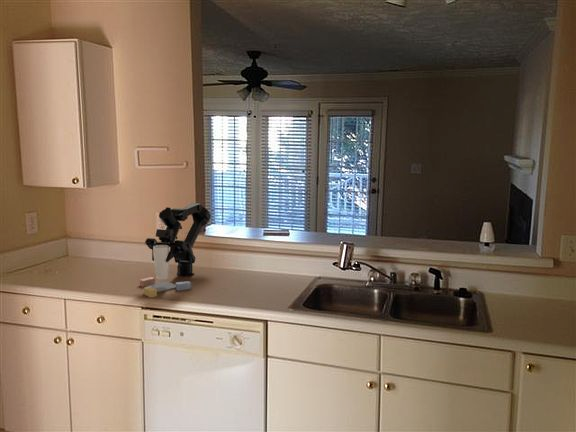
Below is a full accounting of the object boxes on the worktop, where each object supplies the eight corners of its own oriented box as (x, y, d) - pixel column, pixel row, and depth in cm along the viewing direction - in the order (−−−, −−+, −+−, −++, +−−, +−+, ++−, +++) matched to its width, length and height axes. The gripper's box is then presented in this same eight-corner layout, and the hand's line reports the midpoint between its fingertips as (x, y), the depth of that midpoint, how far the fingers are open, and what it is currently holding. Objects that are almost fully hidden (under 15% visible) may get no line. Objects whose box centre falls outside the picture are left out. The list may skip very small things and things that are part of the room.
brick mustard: (143, 294, 206) (143, 287, 206) (150, 293, 208) (149, 286, 208) (150, 297, 202) (150, 291, 201) (157, 296, 204) (156, 289, 203)
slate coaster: (166, 282, 223) (166, 281, 223) (179, 287, 215) (179, 286, 215) (144, 287, 215) (144, 285, 215) (157, 292, 208) (157, 291, 208)
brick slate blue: (189, 287, 216) (189, 281, 216) (190, 289, 214) (190, 282, 213) (175, 289, 214) (175, 282, 213) (177, 291, 211) (177, 284, 211)
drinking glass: (169, 280, 212) (167, 247, 210) (153, 281, 211) (151, 248, 209) (170, 276, 219) (169, 244, 216) (155, 277, 218) (153, 244, 215)
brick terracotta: (151, 283, 222) (150, 276, 222) (154, 284, 220) (154, 278, 220) (139, 286, 218) (139, 279, 217) (143, 287, 216) (143, 281, 215)
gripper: (146, 220, 217) (133, 250, 208) (183, 223, 212) (171, 253, 203) (156, 234, 226) (144, 262, 217) (192, 236, 221) (181, 266, 212)
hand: (159, 261), depth 212 cm, fingers closed on drinking glass, 6 cm apart
